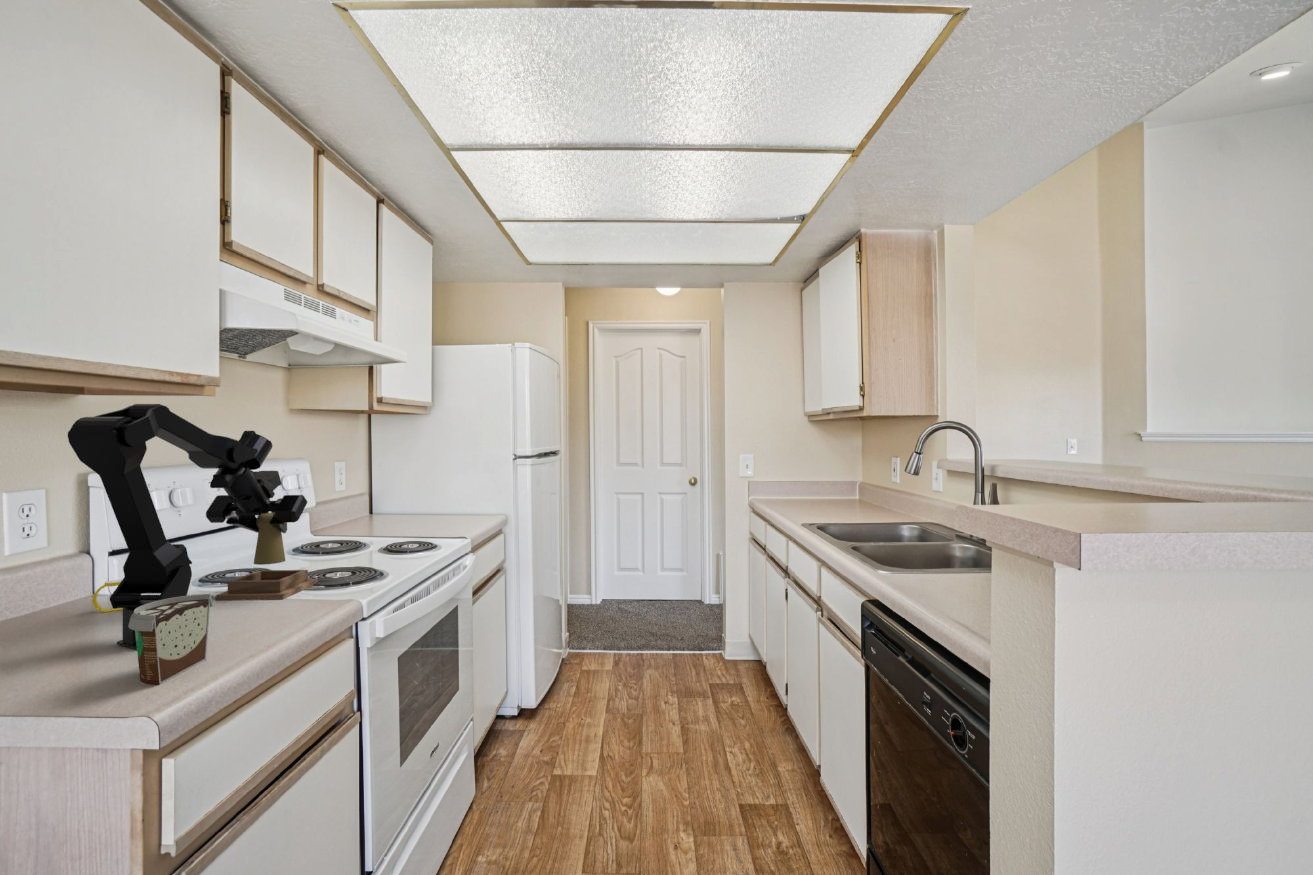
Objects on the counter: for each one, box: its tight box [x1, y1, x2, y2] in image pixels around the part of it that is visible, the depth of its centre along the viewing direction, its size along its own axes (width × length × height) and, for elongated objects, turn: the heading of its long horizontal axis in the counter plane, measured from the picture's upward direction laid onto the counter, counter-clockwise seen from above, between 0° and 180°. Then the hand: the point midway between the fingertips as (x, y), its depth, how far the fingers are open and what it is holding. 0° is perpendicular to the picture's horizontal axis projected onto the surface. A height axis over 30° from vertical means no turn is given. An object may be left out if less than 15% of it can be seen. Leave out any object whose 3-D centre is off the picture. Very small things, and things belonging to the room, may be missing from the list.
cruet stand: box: [215, 569, 319, 601], centre depth 133 cm, size 14×14×4 cm
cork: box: [253, 512, 286, 566], centre depth 133 cm, size 6×6×11 cm
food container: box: [128, 593, 214, 686], centre depth 87 cm, size 12×6×10 cm, turn 4°
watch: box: [91, 579, 123, 613], centre depth 118 cm, size 6×3×6 cm, turn 123°
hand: (273, 531), depth 134 cm, fingers closed on cork, 5 cm apart
